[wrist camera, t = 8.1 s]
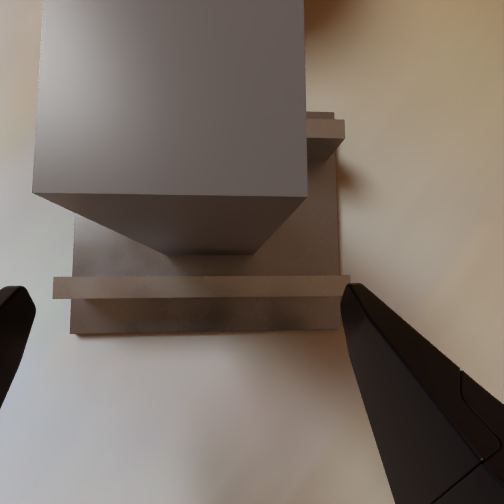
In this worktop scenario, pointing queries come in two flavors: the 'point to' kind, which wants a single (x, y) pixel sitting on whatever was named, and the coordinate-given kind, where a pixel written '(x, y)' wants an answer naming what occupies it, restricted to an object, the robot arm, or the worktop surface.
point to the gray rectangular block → (174, 119)
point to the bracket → (218, 269)
